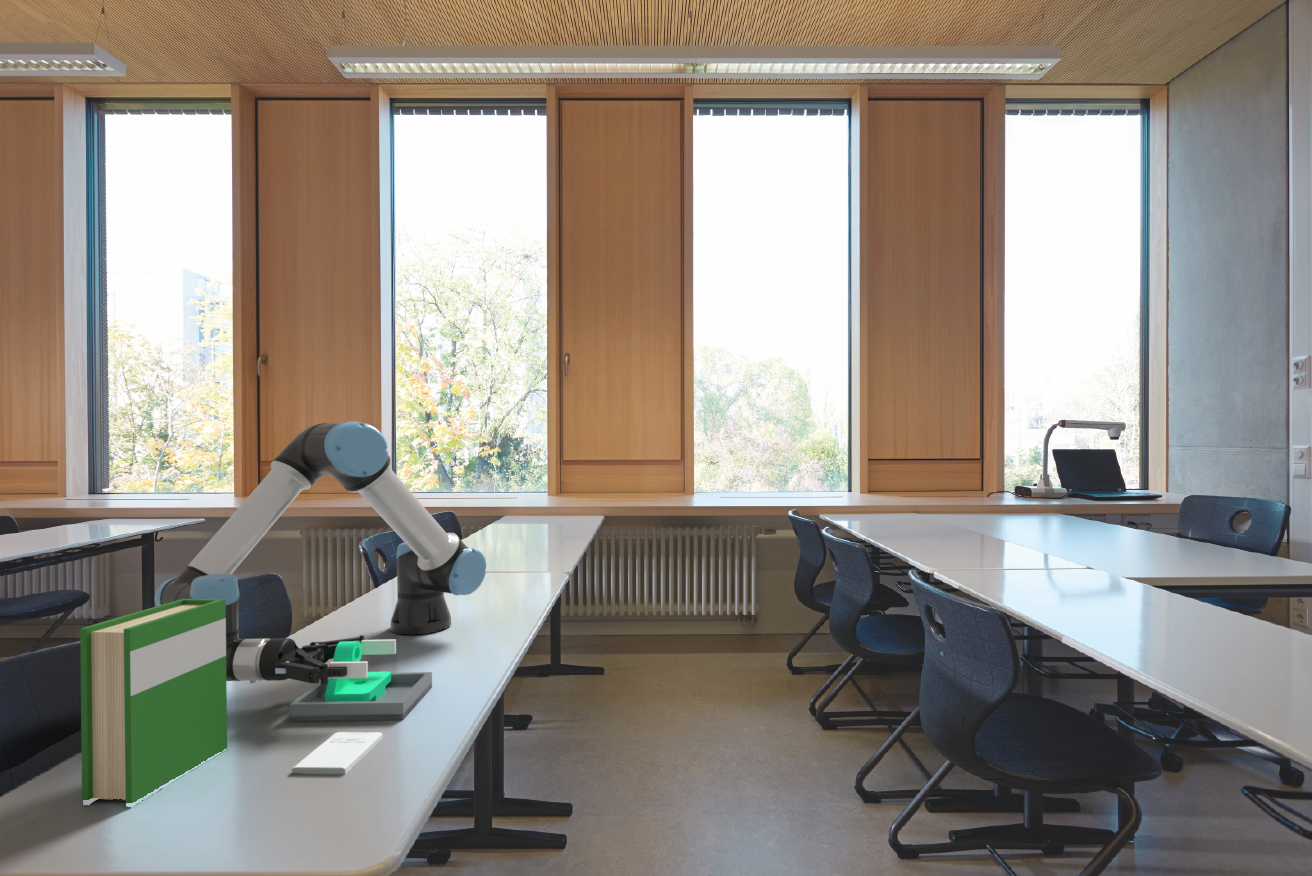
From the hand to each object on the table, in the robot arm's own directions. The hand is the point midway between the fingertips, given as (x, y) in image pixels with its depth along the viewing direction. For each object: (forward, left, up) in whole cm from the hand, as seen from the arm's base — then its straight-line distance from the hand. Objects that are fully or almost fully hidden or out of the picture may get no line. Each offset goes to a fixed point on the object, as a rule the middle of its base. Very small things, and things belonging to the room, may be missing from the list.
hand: (382, 657), depth 129 cm
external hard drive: (+21, +2, -9) cm, 23 cm away
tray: (0, -3, -8) cm, 9 cm away
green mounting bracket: (-1, -4, -8) cm, 9 cm away
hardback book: (+27, -22, -9) cm, 36 cm away
